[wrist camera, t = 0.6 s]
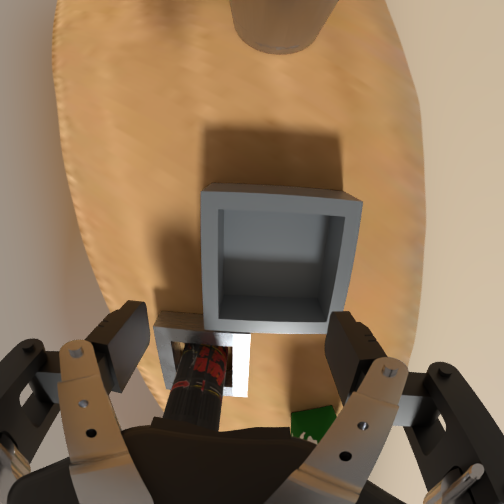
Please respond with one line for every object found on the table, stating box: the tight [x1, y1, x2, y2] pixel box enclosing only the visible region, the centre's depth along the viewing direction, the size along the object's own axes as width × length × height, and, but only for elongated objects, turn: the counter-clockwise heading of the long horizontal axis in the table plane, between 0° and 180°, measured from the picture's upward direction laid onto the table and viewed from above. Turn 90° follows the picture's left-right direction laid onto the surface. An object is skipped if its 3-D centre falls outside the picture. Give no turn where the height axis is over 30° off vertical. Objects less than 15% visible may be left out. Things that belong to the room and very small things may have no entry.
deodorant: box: [163, 343, 228, 432], centre depth 29 cm, size 6×6×15 cm
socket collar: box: [153, 311, 250, 397], centre depth 34 cm, size 12×12×4 cm
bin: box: [201, 183, 363, 334], centre depth 28 cm, size 14×14×6 cm
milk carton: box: [291, 405, 337, 445], centre depth 33 cm, size 9×9×20 cm
